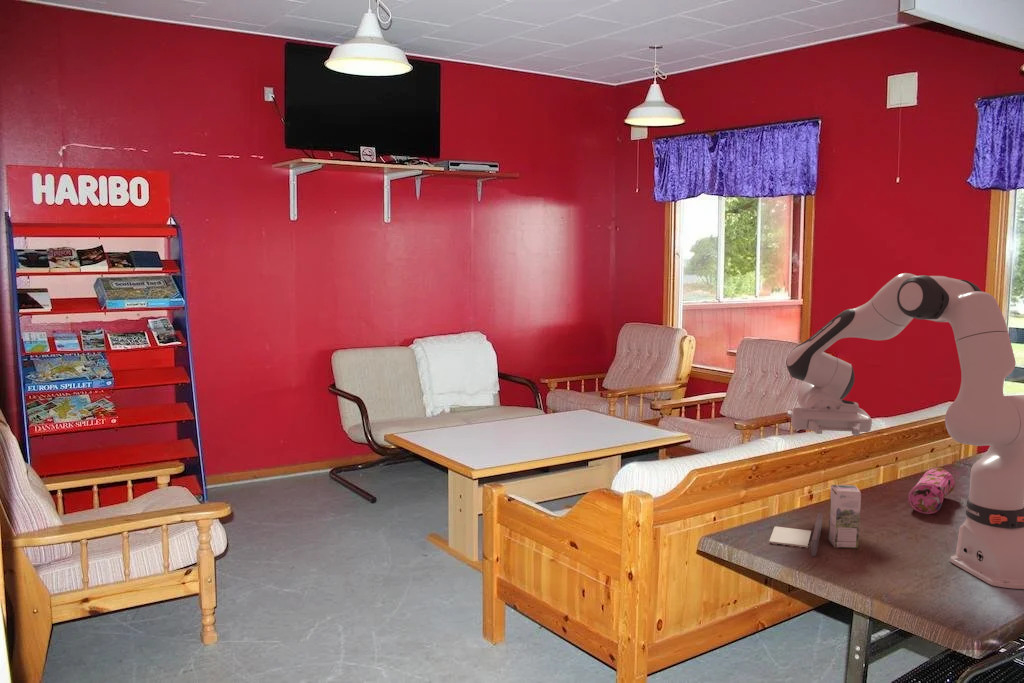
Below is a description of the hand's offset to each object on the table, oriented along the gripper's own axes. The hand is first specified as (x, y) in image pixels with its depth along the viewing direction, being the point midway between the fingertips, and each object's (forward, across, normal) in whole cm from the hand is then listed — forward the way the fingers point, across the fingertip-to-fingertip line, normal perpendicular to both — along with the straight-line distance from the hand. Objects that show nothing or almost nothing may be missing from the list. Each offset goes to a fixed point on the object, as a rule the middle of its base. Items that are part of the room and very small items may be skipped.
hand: (838, 432), depth 224 cm
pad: (+15, -13, +23) cm, 30 cm away
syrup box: (+19, -1, +22) cm, 29 cm away
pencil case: (-15, +33, +28) cm, 46 cm away
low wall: (+17, -7, +22) cm, 29 cm away
